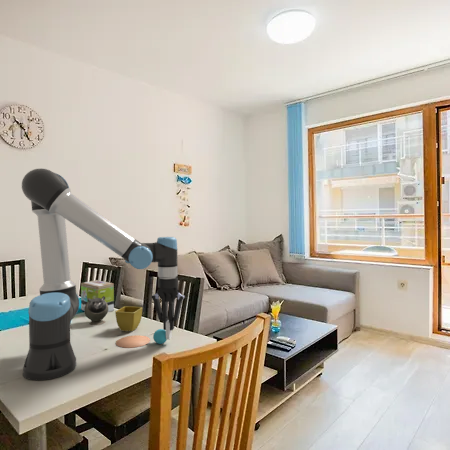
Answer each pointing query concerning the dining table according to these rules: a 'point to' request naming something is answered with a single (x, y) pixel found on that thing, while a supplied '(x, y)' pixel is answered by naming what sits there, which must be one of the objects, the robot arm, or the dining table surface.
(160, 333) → the ball
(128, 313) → the flower pot
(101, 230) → the robot arm
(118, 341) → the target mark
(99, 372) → the dining table surface
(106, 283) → the tea box
